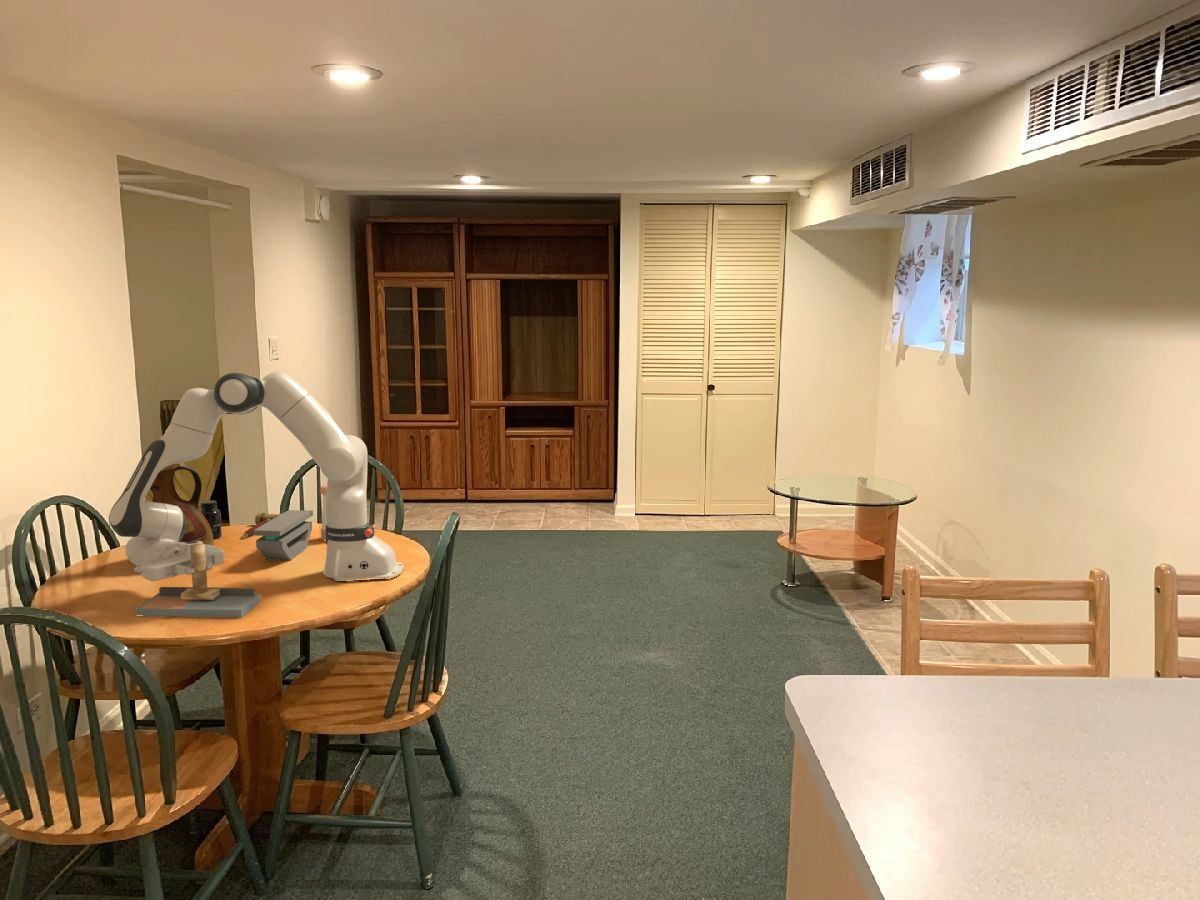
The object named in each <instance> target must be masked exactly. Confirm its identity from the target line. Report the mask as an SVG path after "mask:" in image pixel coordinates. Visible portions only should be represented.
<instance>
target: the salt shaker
mask: <svg viewBox="0 0 1200 900" xmlns="http://www.w3.org/2000/svg"><path fill="white" fill-rule="evenodd" d="M319 492H320V494H321V495H322V512H321V529H320V538H321V539H322V540H326V539H325V529H326V525H327V515H326V494H327V483H325V484H323V485H321V486H320V488H319ZM322 540H321V541H322Z"/></svg>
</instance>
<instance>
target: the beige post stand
mask: <svg viewBox="0 0 1200 900" xmlns="http://www.w3.org/2000/svg"><path fill="white" fill-rule="evenodd" d="M190 553H191V566H192V567H194V569H195V570H194V571H195V573H194V574H191V581H192V587H193V588H188V589H187V590H185V591H184V592H182V593H181V599H197V600H213V599H215V598H216V597H217V596H219V595H220V589H208V573H207V571H208V570H206V555H205V544H193V545H191V546H190Z"/></svg>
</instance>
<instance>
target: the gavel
mask: <svg viewBox="0 0 1200 900" xmlns="http://www.w3.org/2000/svg"><path fill="white" fill-rule="evenodd" d="M281 514H282V513H279V514H278V513H277V514H275V513H274V514H273V513H266V512H257V513H256V515H255V517H254V523H255V525H254V526H252V527H250V528H249V529H247V530H245V531H244V533H243V534H242V537H241V538H242V539H243V540H244V539H248V538H251V537H253V536H255V535H254V530H255V529H257V528H258V527H260V526H262V525H264V524H265V523H267V522H269V521H271V520H272V519H274V518H276V517H278V516H279V515H281Z"/></svg>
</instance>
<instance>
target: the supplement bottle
mask: <svg viewBox="0 0 1200 900" xmlns="http://www.w3.org/2000/svg"><path fill="white" fill-rule="evenodd" d="M217 504H218V503H217V501H216V500H203V501H201V502H200V509H199V511H200V512H201V513H202V514H203V515H204V517H205V518H206V519H207V521H208V523H209V525H210V528H211V531H212V534H213V540H217V539H218V540H219V539H220V538H221V537H222V534H223V533H222V521H221V520H222V518H221V517H222V514H221V511H220V509H218V505H217Z"/></svg>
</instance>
